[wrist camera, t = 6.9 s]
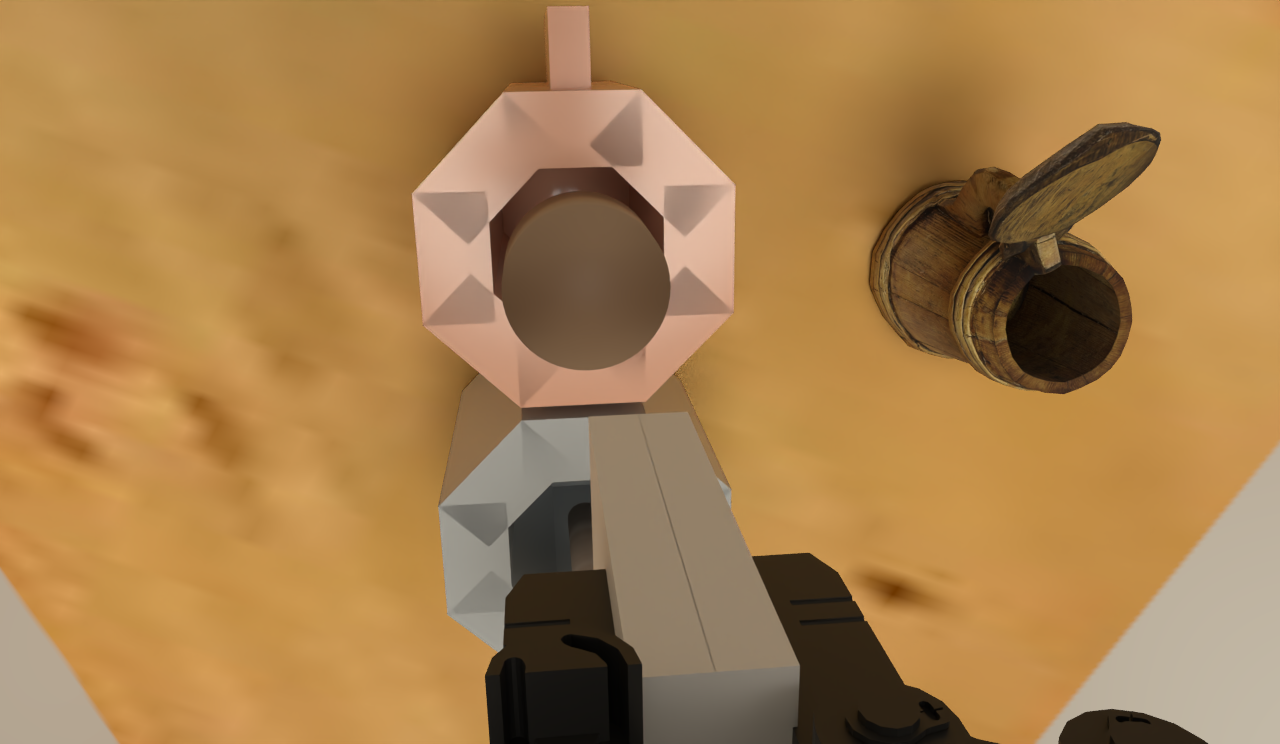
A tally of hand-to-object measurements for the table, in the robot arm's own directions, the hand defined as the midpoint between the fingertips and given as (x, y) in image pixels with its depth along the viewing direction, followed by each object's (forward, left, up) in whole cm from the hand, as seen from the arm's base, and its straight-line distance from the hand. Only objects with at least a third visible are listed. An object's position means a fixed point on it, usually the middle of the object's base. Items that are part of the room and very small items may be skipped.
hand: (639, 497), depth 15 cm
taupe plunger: (0, 0, -31) cm, 31 cm away
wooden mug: (+2, +19, -35) cm, 39 cm away
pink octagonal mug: (-1, 0, -34) cm, 34 cm away
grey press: (+13, 0, -34) cm, 37 cm away
